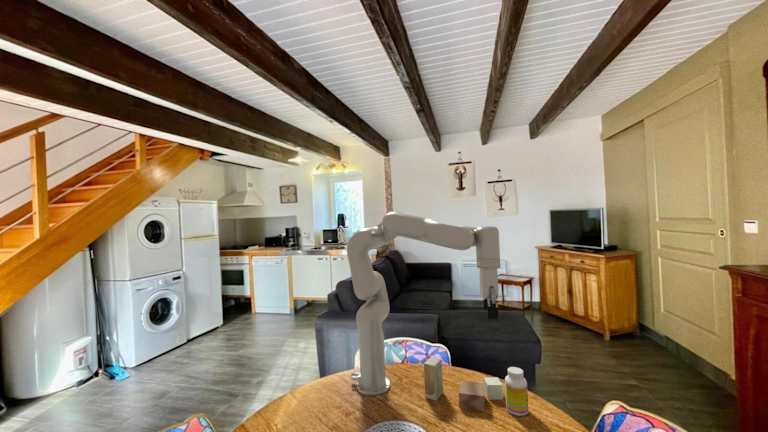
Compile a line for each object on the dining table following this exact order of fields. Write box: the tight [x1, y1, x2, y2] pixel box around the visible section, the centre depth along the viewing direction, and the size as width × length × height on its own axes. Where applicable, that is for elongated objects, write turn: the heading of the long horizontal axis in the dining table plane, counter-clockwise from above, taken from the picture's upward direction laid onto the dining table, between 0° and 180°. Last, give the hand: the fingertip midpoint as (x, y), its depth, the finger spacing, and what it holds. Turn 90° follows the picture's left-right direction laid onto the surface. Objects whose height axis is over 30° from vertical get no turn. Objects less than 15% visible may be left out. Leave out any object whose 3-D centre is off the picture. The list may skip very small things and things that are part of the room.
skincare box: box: [423, 356, 444, 402], centre depth 109 cm, size 6×4×12 cm
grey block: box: [483, 376, 504, 401], centre depth 108 cm, size 5×5×5 cm
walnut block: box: [458, 380, 486, 412], centre depth 104 cm, size 8×8×5 cm
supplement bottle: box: [504, 366, 529, 417], centre depth 99 cm, size 7×7×13 cm
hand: (490, 314), depth 103 cm, fingers open, 9 cm apart
